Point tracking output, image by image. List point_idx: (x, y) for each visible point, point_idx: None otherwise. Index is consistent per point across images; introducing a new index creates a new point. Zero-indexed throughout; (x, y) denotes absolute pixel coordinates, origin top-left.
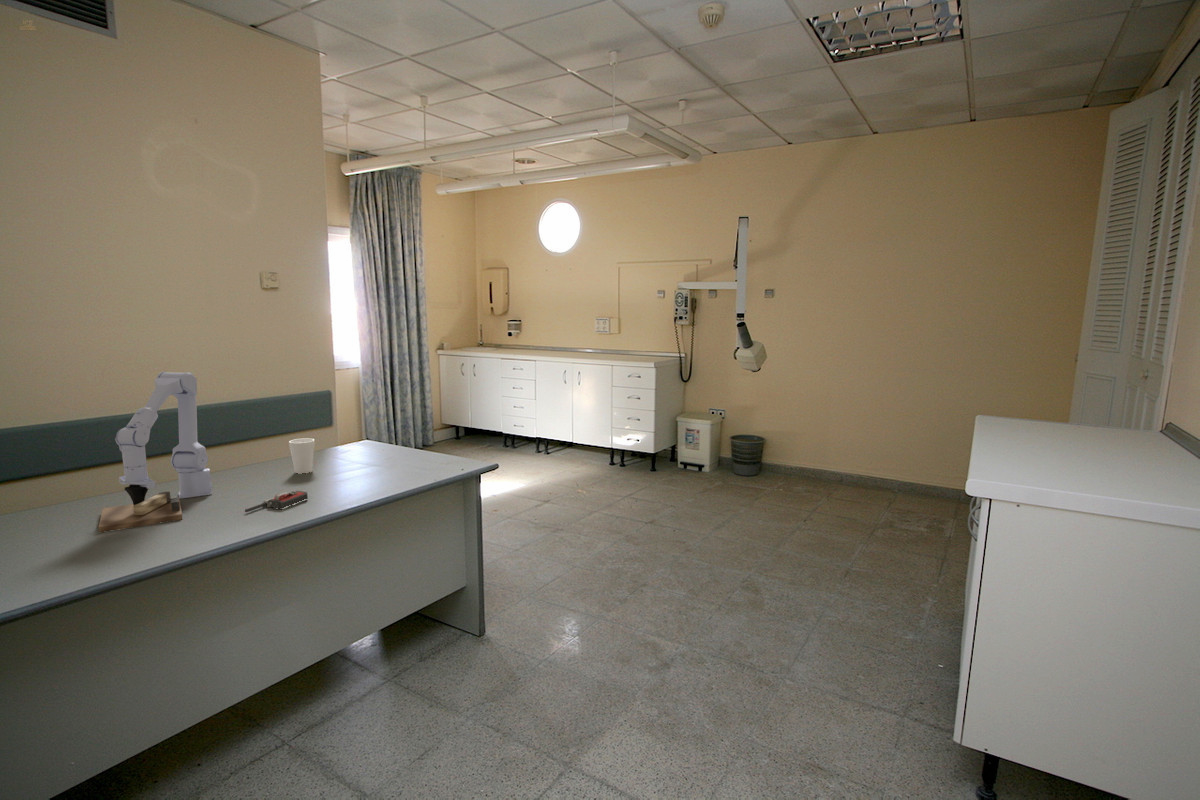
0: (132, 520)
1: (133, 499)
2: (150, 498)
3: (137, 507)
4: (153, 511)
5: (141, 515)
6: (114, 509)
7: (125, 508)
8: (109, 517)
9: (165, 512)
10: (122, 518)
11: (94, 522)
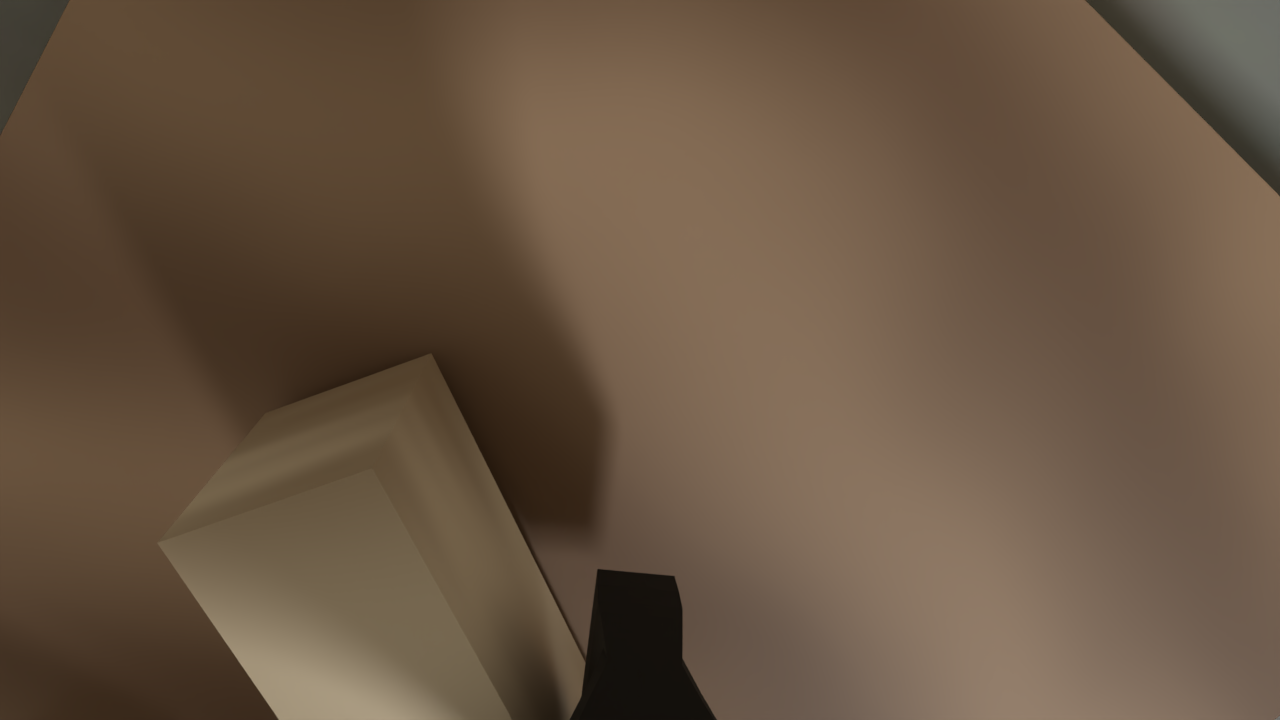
0: (145, 116)
1: (611, 712)
2: None
3: (281, 479)
4: None
5: None
6: (1266, 516)
7: (1092, 615)
8: (906, 107)
9: (98, 676)
10: (527, 148)
11: (1241, 21)
